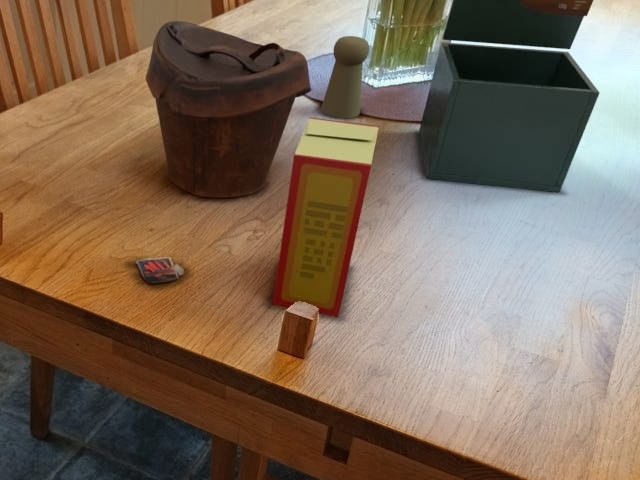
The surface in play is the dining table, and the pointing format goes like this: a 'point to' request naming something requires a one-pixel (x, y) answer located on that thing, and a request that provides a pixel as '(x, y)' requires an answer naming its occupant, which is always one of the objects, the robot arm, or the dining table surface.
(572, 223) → the dining table surface
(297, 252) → the baking soda box
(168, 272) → the matchbox
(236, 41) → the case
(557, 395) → the dining table surface
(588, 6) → the food container
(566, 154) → the waste bin
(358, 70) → the olive pawn figure
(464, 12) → the bin lid
